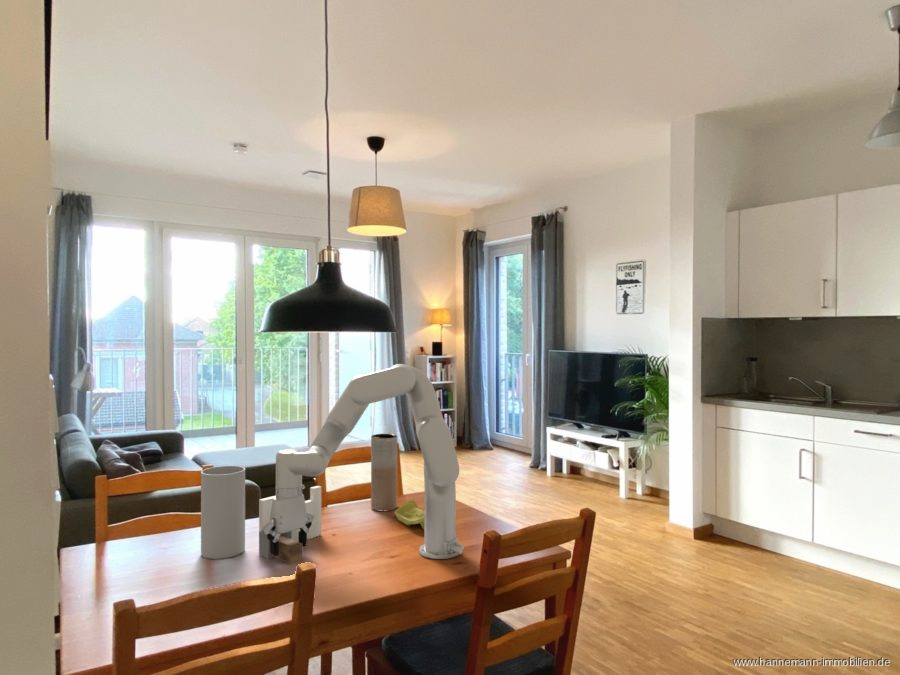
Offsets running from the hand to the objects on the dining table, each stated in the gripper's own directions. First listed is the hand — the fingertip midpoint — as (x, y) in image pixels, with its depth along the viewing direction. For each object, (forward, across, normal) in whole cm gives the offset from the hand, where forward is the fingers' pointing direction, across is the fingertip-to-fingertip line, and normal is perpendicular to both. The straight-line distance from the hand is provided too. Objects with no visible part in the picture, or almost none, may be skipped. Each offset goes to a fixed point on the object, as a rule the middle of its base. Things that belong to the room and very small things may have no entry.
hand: (288, 549), depth 172 cm
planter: (+3, -54, -16) cm, 57 cm away
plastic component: (+3, -48, +6) cm, 49 cm away
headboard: (+3, -8, -8) cm, 11 cm away
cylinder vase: (+3, +10, -20) cm, 22 cm away
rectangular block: (+3, 0, -2) cm, 3 cm away
